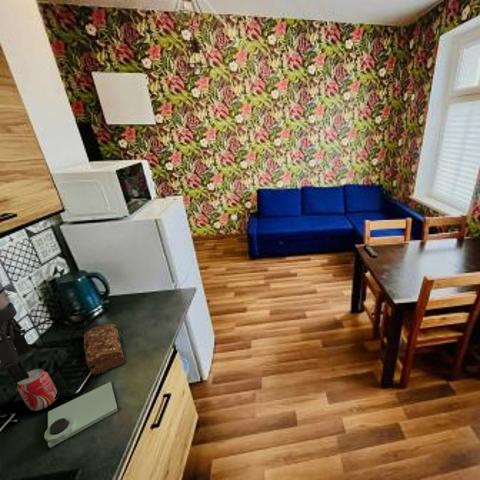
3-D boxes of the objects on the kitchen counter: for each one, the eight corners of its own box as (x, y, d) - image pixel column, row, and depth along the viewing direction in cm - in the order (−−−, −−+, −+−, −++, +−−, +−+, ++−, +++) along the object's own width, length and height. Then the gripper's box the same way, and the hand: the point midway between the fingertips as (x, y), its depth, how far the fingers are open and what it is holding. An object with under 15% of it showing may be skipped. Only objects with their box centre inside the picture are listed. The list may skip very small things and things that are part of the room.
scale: (48, 451, 75) (44, 444, 73) (48, 415, 84) (44, 409, 83) (118, 412, 85) (115, 406, 84) (111, 384, 94) (109, 378, 93)
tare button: (51, 437, 75) (49, 433, 75) (51, 427, 78) (49, 423, 77) (68, 428, 78) (66, 424, 77) (68, 419, 80) (66, 415, 79)
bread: (90, 348, 109) (81, 329, 105) (121, 336, 115) (114, 318, 112) (91, 378, 96) (82, 358, 92) (127, 363, 102) (119, 343, 98)
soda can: (24, 408, 86) (8, 382, 81) (51, 389, 92) (37, 364, 87) (38, 416, 83) (22, 389, 79) (64, 396, 90) (51, 370, 85)
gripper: (7, 324, 67) (40, 384, 75) (15, 285, 84) (41, 337, 92) (-41, 339, 62) (0, 401, 70) (-22, 294, 79) (9, 348, 87)
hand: (24, 365), depth 81 cm, fingers open, 13 cm apart
